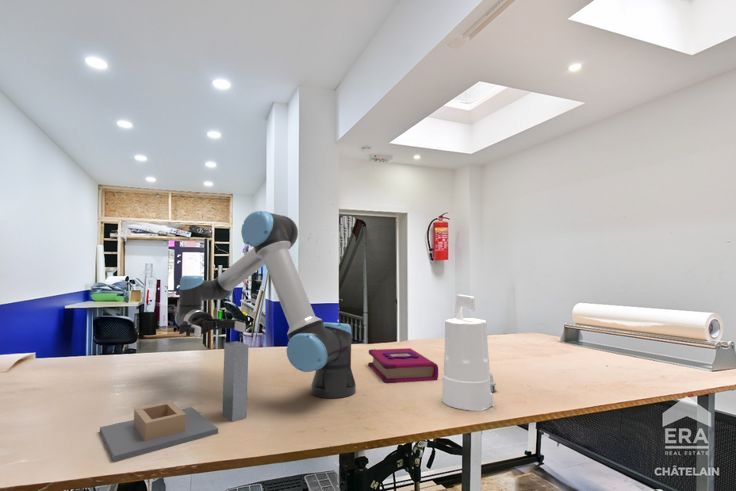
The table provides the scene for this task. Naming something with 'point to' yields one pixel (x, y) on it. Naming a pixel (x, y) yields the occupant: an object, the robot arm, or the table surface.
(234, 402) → the grey rectangular post
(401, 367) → the book
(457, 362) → the white pump bottle
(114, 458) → the slotted post base
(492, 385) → the toothbrush head
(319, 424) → the table surface
